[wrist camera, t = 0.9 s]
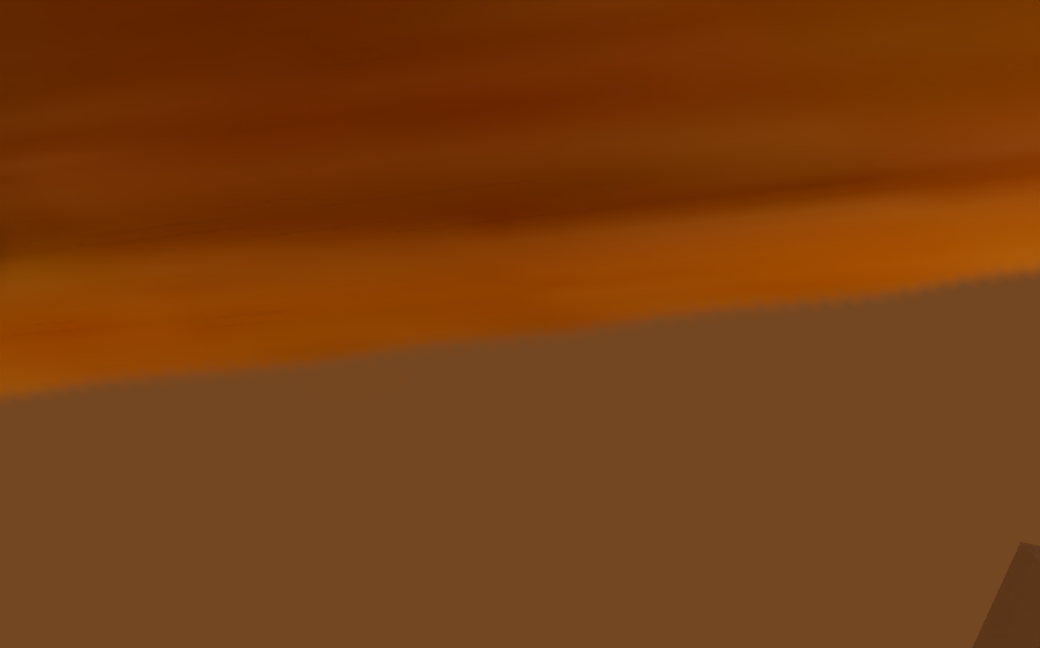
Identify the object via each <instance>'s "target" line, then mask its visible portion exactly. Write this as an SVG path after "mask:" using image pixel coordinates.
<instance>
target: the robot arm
mask: <svg viewBox="0 0 1040 648" xmlns="http://www.w3.org/2000/svg"><path fill="white" fill-rule="evenodd" d="M973 648H1040V546H1037V545H1032V544H1027V543H1023V542H1021V543H1020V545H1019V547H1018V549H1017V552H1016V554H1015V556H1014V558H1013V561H1012V563H1011V565H1010V567H1009V569H1008V571H1007V573H1006V576H1005V578H1004V580H1003V582H1002V584H1001V587H1000V589H999V591H998V593H997V595H996V598H995V600H994V602H993V604H992V606H991V608H990V611H989V613H988V615H987V617H986V619H985V621H984V624H983V626H982V628H981V630H980V632H979V635H978V637H977V639H976V641H975V643H974V645H973Z"/></svg>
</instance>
